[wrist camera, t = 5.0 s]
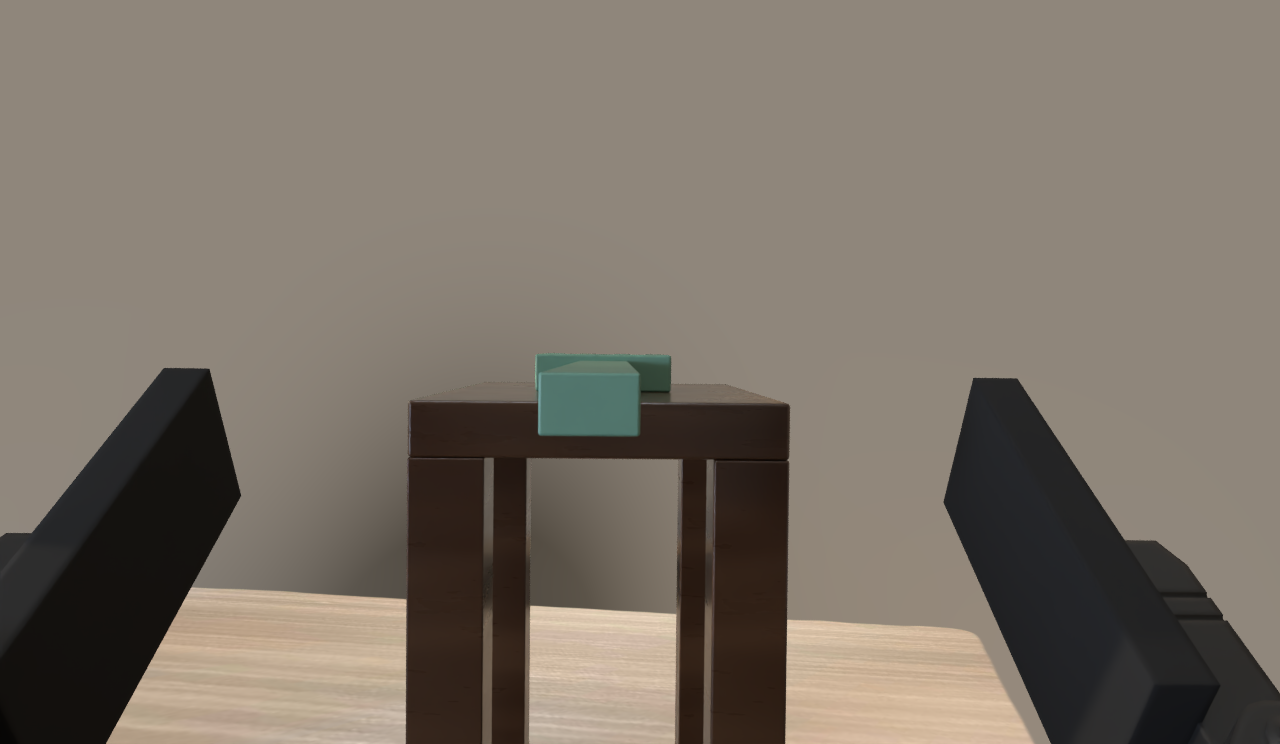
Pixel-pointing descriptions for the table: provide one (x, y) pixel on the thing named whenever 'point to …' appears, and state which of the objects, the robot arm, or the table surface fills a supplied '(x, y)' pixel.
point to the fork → (596, 392)
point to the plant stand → (500, 558)
